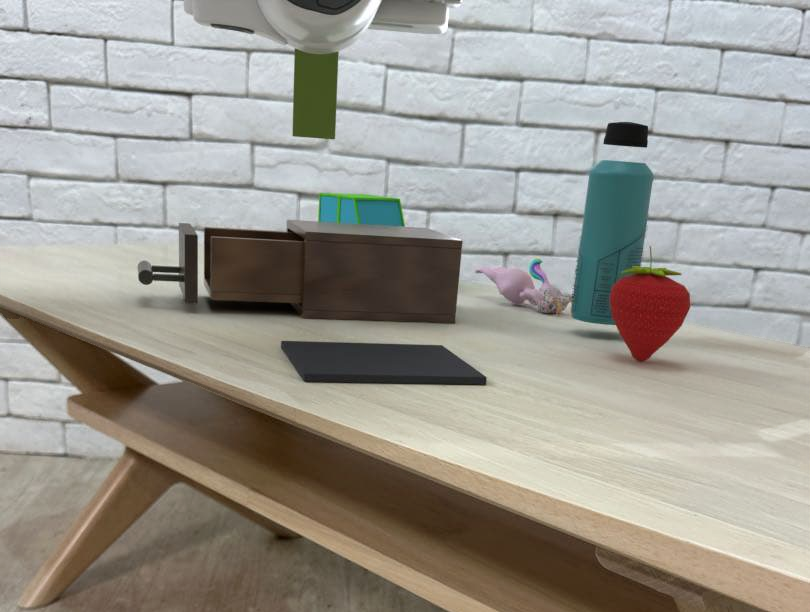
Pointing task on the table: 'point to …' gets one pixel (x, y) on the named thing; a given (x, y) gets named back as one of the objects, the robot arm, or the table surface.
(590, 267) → the beverage bottle
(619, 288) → the strawberry
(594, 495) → the table surface
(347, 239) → the cabinet
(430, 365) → the mat
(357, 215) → the blue green-edged box
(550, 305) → the pink elongated figure
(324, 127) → the tall olive green pillar
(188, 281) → the drawer
